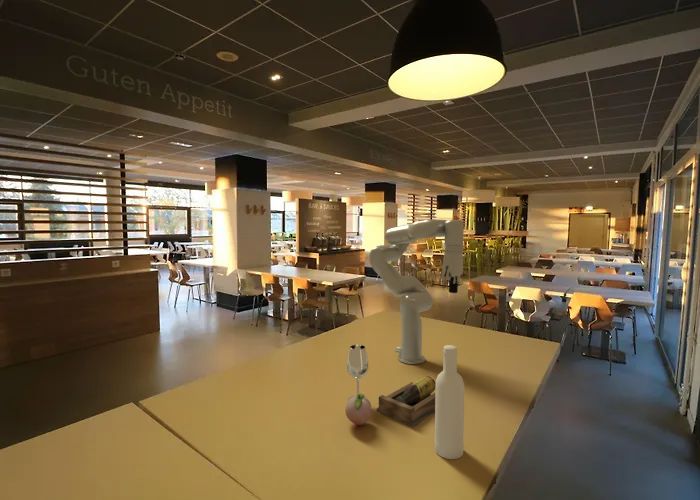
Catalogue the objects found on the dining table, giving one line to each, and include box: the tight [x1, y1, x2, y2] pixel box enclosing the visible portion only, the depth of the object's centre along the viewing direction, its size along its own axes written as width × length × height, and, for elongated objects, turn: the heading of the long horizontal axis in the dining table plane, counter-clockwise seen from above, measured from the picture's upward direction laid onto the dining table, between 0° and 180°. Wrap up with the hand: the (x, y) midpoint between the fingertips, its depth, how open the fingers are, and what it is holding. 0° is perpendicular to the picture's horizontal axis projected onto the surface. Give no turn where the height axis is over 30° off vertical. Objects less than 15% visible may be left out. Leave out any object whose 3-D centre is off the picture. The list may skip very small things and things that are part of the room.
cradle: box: [375, 382, 435, 428], centre depth 131 cm, size 15×22×5 cm
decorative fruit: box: [344, 392, 372, 426], centre depth 119 cm, size 9×8×10 cm
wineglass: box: [346, 344, 370, 402], centre depth 135 cm, size 8×8×20 cm
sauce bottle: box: [396, 375, 436, 405], centre depth 133 cm, size 7×6×20 cm
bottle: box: [434, 344, 465, 460], centre depth 104 cm, size 8×8×30 cm
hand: (453, 292), depth 158 cm, fingers closed
